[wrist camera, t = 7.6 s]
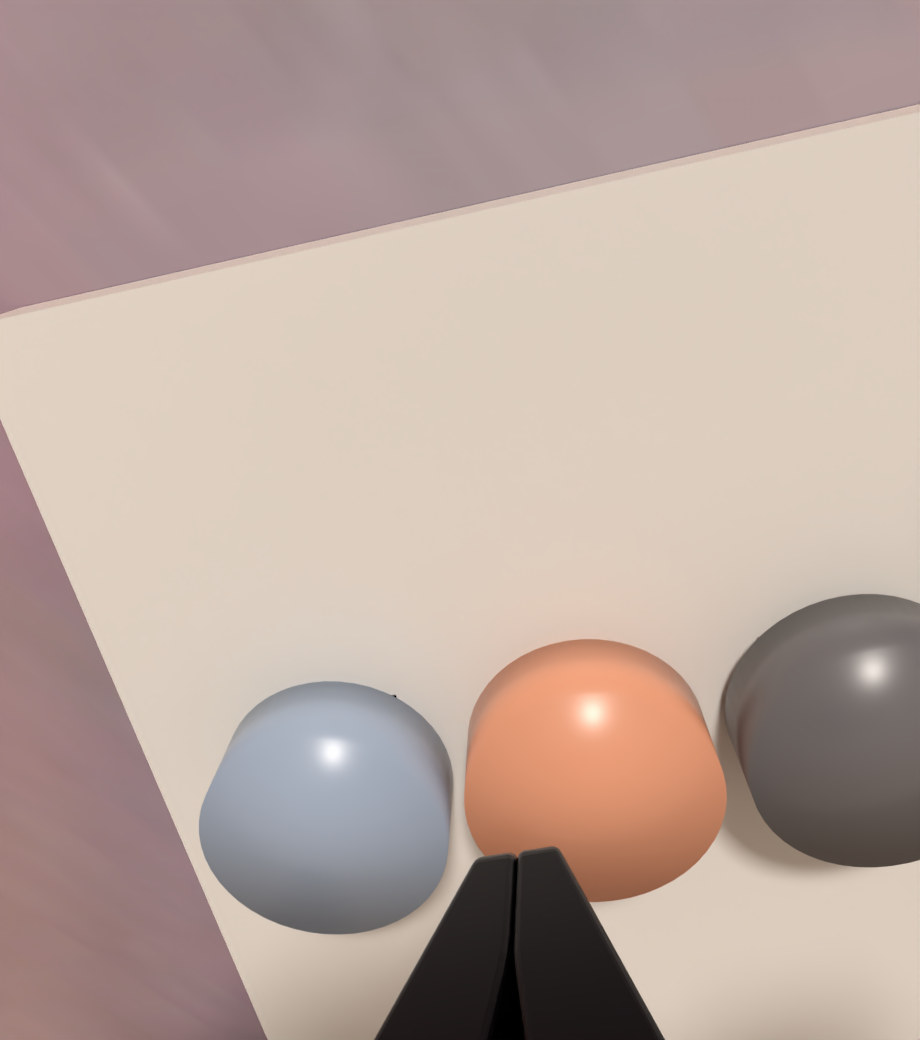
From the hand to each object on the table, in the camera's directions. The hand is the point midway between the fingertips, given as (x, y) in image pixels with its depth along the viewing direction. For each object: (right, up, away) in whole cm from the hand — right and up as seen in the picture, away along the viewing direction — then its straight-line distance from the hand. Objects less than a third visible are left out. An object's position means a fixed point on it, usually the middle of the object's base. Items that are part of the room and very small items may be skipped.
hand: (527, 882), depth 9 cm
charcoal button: (+7, +1, +9) cm, 12 cm away
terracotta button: (+2, 0, +10) cm, 10 cm away
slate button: (-3, -1, +11) cm, 11 cm away
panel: (+2, 0, +11) cm, 11 cm away
